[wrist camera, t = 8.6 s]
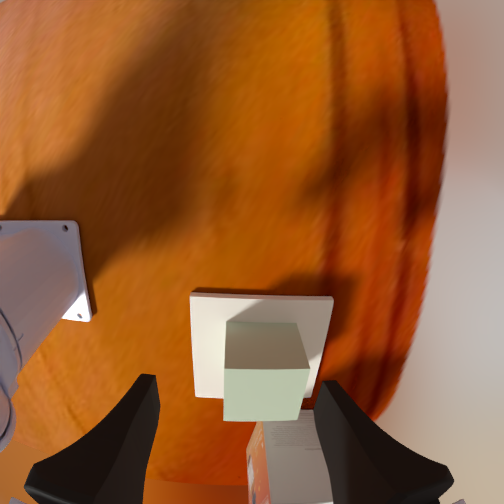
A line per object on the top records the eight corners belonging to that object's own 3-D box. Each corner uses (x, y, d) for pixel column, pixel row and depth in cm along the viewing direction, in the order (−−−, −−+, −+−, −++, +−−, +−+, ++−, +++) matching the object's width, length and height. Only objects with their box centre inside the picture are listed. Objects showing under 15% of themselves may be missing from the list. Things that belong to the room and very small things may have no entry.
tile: (196, 392, 24) (195, 396, 24) (191, 292, 21) (189, 296, 20) (309, 392, 25) (310, 397, 24) (331, 296, 22) (334, 300, 21)
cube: (224, 372, 23) (223, 420, 18) (225, 321, 21) (224, 368, 16) (287, 373, 23) (297, 420, 19) (296, 322, 21) (310, 368, 17)
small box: (261, 405, 25) (271, 506, 15) (318, 408, 26) (343, 500, 16) (244, 449, 28) (248, 532, 18) (294, 450, 29) (307, 529, 19)
